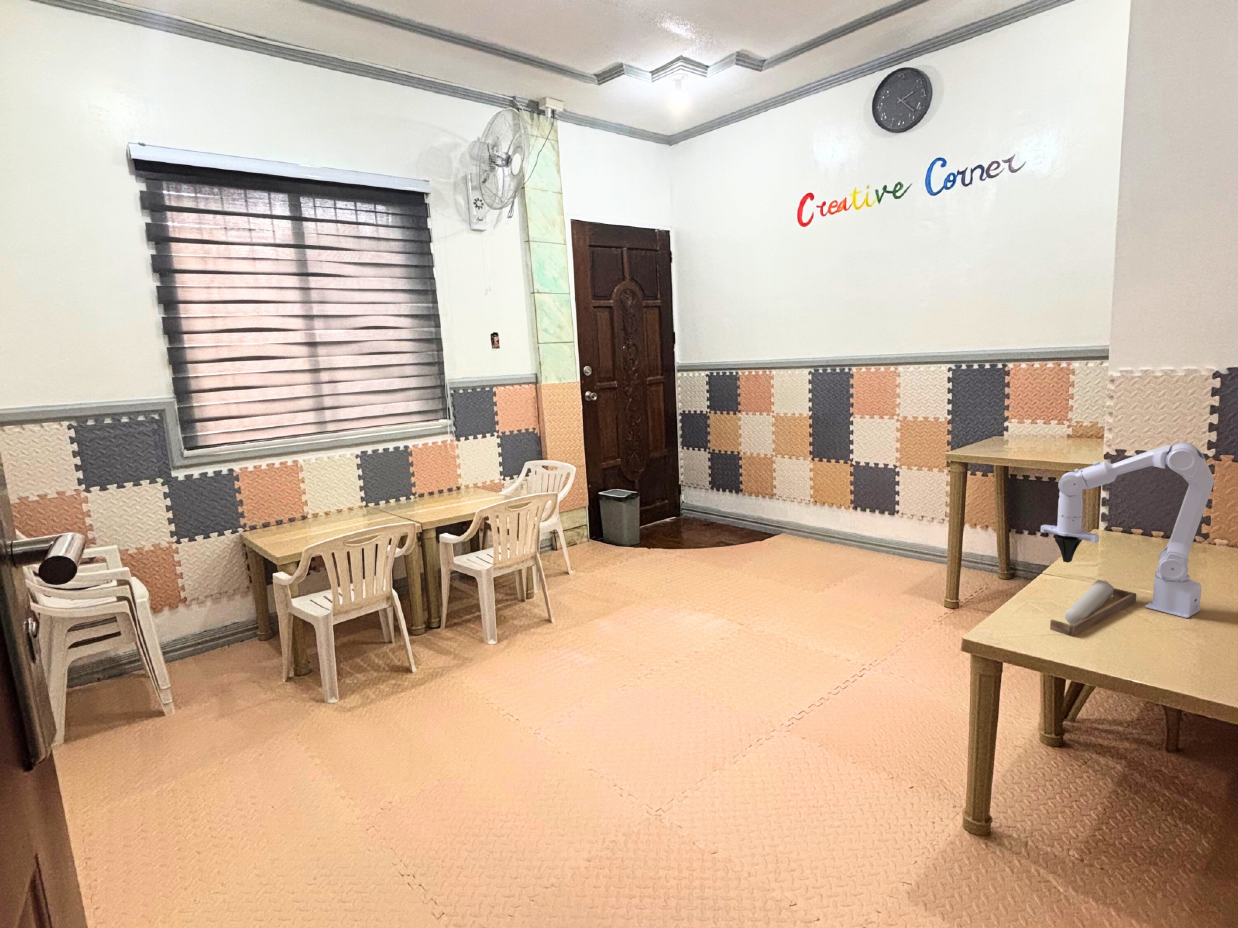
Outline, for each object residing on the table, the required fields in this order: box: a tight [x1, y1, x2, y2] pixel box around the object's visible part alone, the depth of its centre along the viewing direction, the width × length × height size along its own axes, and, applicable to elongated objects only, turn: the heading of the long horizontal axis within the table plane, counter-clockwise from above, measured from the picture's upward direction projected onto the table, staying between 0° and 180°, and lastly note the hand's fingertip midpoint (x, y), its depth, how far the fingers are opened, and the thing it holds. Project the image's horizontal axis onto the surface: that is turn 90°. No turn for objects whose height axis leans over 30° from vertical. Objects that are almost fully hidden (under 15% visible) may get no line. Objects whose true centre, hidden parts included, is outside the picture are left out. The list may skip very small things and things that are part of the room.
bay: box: [1049, 587, 1137, 637], centre depth 186 cm, size 5×33×2 cm, turn 121°
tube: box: [1064, 579, 1115, 625], centre depth 189 cm, size 5×5×25 cm
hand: (1067, 561), depth 200 cm, fingers closed
